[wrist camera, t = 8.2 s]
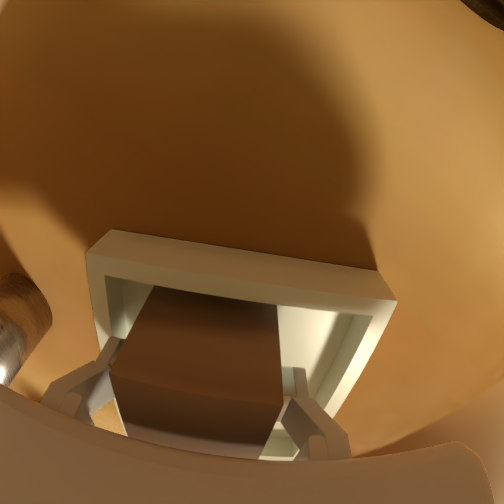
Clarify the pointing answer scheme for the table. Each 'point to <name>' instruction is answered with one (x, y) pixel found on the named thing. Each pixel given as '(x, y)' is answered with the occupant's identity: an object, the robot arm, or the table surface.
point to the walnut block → (201, 373)
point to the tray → (257, 290)
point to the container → (488, 11)
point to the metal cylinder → (20, 323)
